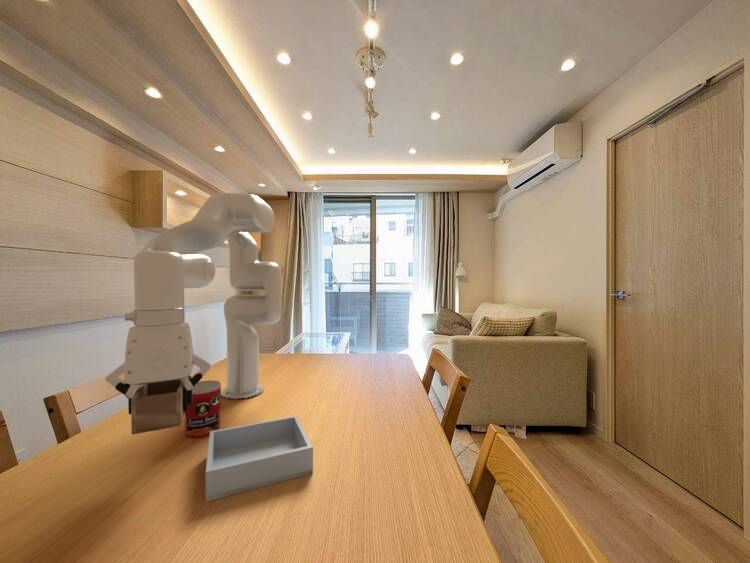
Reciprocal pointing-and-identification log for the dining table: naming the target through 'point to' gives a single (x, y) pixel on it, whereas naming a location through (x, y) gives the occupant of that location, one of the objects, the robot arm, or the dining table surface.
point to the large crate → (256, 456)
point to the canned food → (204, 409)
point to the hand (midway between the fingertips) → (162, 411)
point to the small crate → (157, 406)
